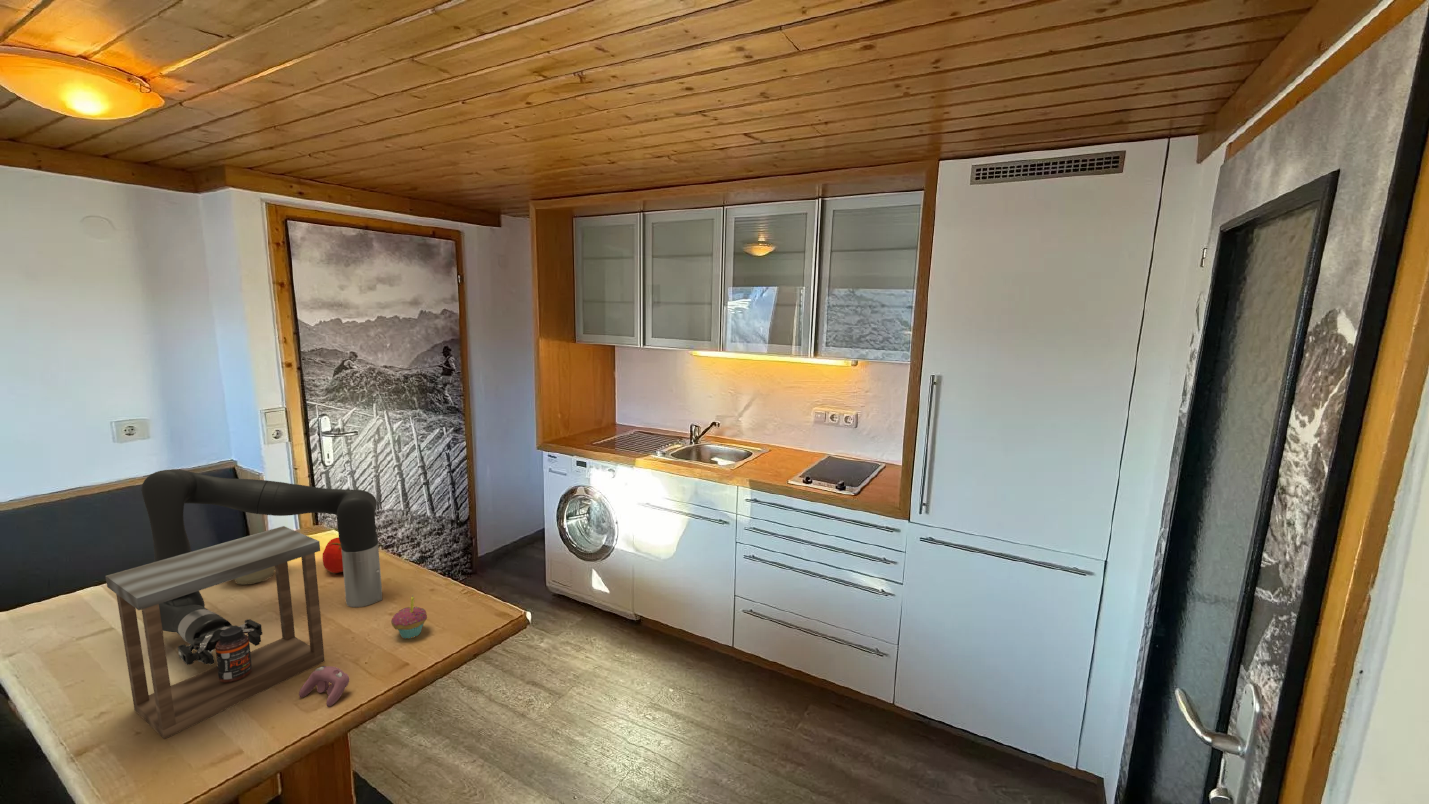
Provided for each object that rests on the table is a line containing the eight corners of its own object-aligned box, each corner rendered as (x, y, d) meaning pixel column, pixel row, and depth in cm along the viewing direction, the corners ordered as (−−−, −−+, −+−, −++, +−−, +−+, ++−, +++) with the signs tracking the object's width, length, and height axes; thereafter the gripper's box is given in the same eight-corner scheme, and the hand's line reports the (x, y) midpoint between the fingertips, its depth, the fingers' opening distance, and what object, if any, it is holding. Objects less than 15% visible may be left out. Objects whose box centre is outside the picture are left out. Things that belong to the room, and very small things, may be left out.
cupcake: (435, 630, 155) (432, 589, 153) (406, 646, 147) (404, 604, 145) (413, 622, 158) (411, 582, 156) (385, 637, 151) (382, 596, 149)
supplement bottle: (233, 686, 127) (227, 640, 125) (212, 681, 129) (206, 636, 127) (259, 669, 133) (254, 625, 131) (238, 665, 134) (233, 622, 132)
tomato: (319, 568, 188) (317, 538, 186) (365, 556, 197) (362, 528, 195) (328, 583, 178) (325, 552, 176) (375, 570, 187) (373, 540, 186)
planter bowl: (260, 591, 172) (256, 558, 170) (208, 589, 172) (203, 556, 170) (299, 567, 188) (296, 536, 186) (251, 565, 188) (248, 535, 186)
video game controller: (345, 704, 128) (356, 671, 130) (327, 707, 124) (339, 673, 126) (313, 694, 131) (324, 661, 133) (295, 697, 127) (306, 664, 129)
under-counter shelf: (127, 712, 121) (105, 575, 116) (295, 638, 149) (283, 526, 144) (158, 743, 113) (136, 598, 108) (330, 659, 141) (319, 541, 135)
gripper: (163, 629, 129) (193, 651, 122) (238, 602, 142) (270, 621, 134) (167, 658, 131) (197, 683, 123) (241, 629, 143) (273, 649, 135)
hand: (235, 650), depth 128 cm, fingers open, 8 cm apart
